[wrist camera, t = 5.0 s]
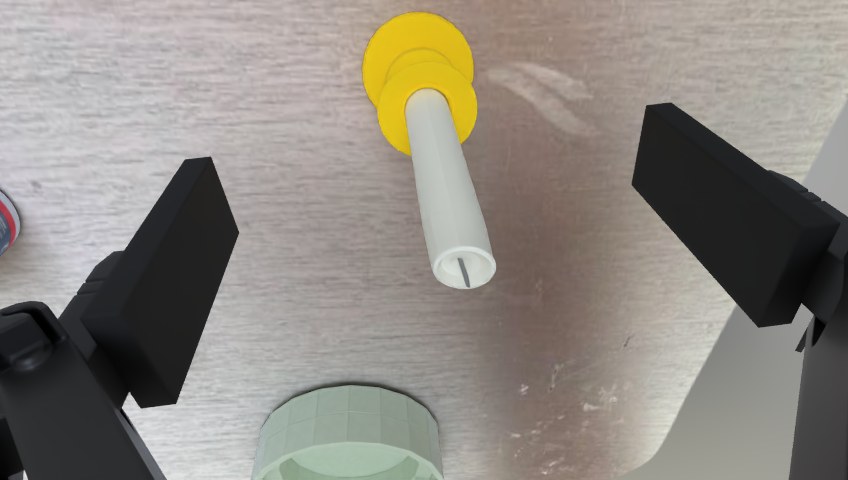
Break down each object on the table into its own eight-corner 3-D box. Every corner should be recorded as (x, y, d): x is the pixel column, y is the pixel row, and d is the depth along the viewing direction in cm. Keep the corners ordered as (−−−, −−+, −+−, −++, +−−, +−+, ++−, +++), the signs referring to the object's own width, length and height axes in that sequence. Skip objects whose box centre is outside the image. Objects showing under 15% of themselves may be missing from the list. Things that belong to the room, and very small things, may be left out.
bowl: (431, 369, 36) (438, 430, 32) (442, 471, 44) (449, 530, 40) (238, 392, 36) (221, 457, 32) (286, 491, 44) (277, 552, 40)
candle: (429, 141, 26) (483, 390, 13) (341, 84, 24) (304, 315, 11) (494, 56, 23) (636, 257, 11) (403, -16, 21) (447, 131, 9)
